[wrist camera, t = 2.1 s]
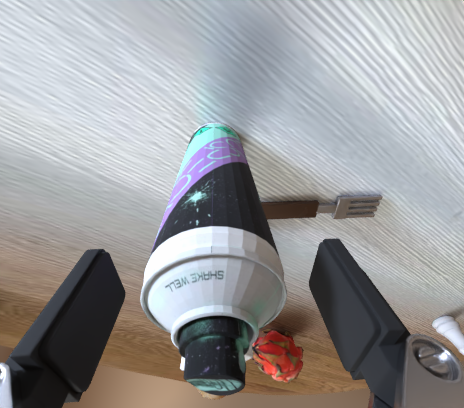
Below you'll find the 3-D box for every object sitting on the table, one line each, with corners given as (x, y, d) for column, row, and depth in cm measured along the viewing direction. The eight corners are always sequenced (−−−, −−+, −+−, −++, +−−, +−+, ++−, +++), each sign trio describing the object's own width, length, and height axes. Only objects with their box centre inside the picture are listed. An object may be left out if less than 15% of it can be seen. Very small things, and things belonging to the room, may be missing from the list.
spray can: (251, 141, 22) (360, 366, 6) (222, 181, 25) (238, 425, 8) (206, 110, 20) (166, 308, 4) (180, 155, 23) (79, 408, 6)
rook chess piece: (426, 325, 47) (461, 368, 40) (442, 313, 45) (482, 357, 38) (440, 327, 48) (477, 369, 41) (457, 316, 46) (499, 359, 39)
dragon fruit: (291, 335, 49) (248, 315, 46) (320, 345, 41) (271, 321, 39) (282, 380, 45) (234, 360, 42) (311, 399, 37) (256, 377, 35)
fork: (245, 220, 28) (246, 223, 27) (246, 199, 26) (247, 202, 26) (371, 214, 29) (374, 217, 28) (380, 194, 27) (384, 197, 27)
